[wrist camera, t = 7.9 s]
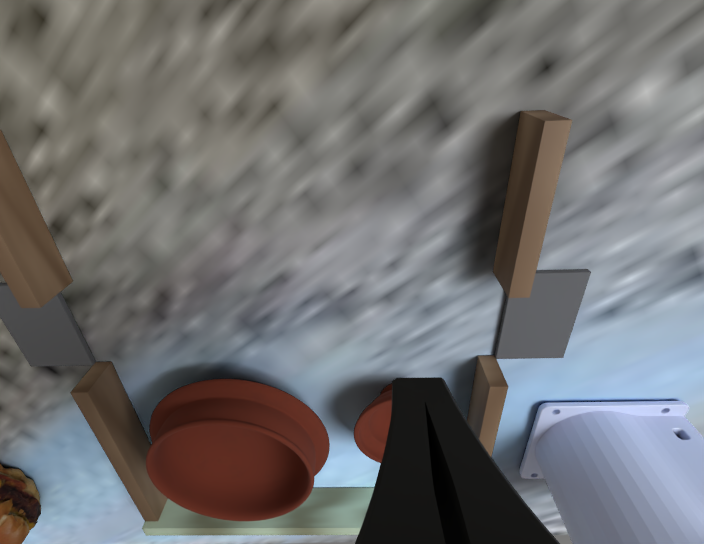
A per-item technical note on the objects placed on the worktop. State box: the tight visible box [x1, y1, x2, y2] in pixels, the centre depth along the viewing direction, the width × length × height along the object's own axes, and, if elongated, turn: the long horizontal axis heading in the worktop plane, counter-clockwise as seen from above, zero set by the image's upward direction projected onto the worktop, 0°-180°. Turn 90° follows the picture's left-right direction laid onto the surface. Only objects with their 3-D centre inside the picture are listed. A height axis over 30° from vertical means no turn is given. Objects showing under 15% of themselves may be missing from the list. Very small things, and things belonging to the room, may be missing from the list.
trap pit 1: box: [0, 283, 96, 366], centre depth 23 cm, size 4×6×1 cm, turn 2°
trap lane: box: [0, 110, 572, 535], centre depth 23 cm, size 25×29×3 cm
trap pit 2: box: [495, 269, 591, 359], centre depth 22 cm, size 4×6×1 cm, turn 2°
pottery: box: [146, 379, 392, 521], centre depth 25 cm, size 12×20×4 cm, turn 103°
